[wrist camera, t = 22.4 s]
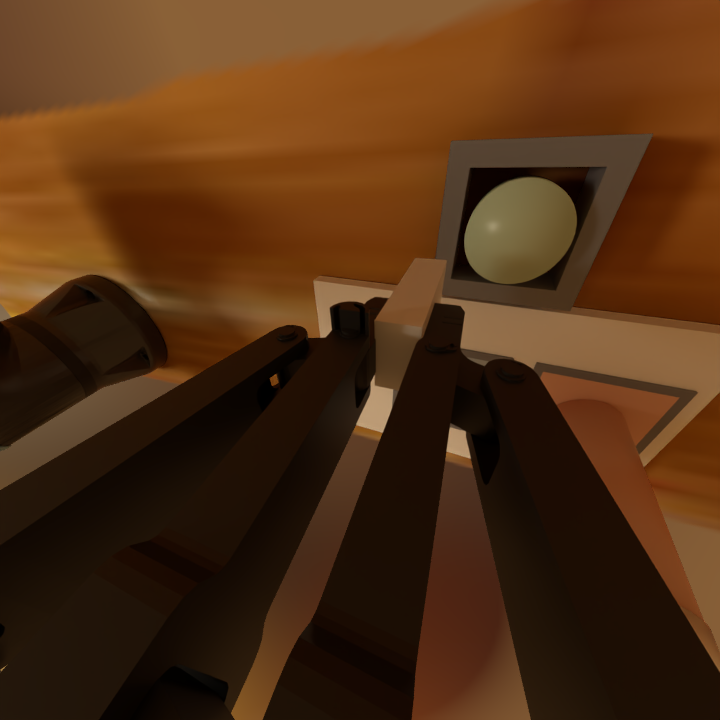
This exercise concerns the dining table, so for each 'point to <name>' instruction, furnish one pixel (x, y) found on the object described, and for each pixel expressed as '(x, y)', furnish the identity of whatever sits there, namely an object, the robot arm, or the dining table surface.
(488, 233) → the button
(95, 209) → the dining table surface
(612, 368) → the picture board
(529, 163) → the button base
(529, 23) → the dining table surface
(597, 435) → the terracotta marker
